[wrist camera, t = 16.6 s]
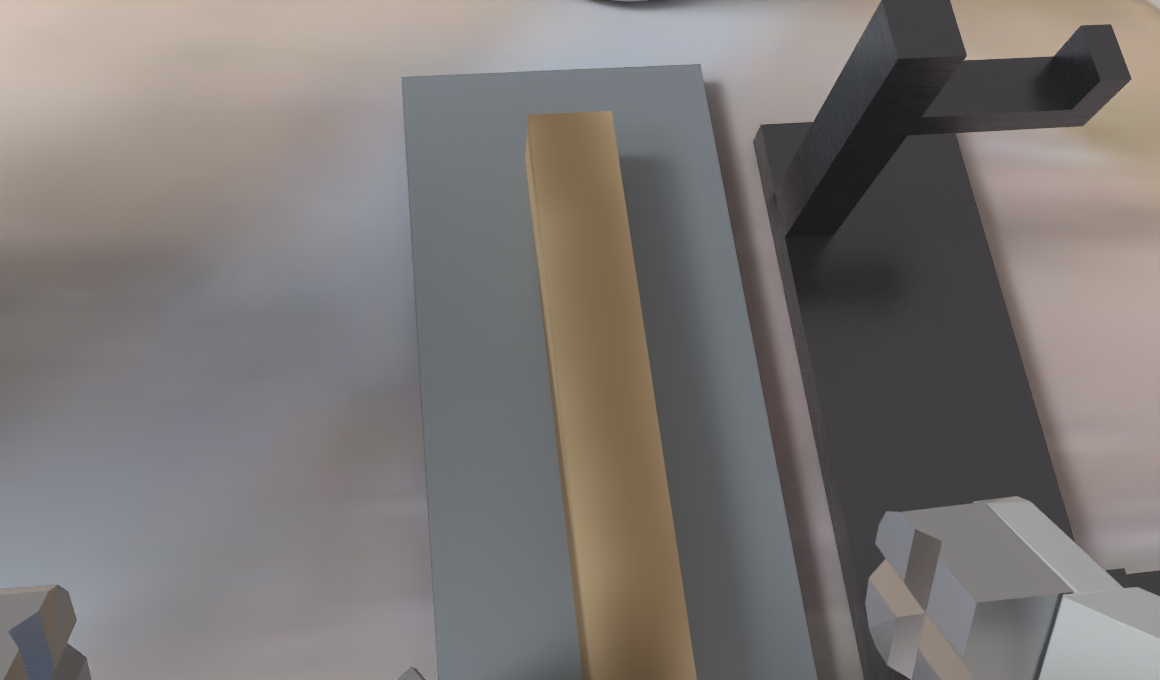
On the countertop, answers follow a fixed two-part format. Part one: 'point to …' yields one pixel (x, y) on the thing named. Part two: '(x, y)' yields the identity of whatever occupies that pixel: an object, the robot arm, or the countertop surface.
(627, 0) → the cylinder vase
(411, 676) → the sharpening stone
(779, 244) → the hook stand
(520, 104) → the rubber mat
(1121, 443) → the countertop surface
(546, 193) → the oak rail
